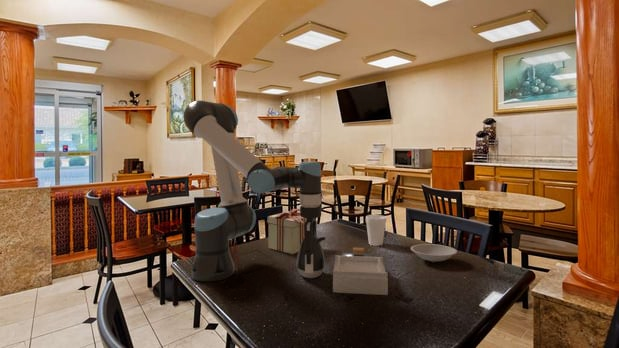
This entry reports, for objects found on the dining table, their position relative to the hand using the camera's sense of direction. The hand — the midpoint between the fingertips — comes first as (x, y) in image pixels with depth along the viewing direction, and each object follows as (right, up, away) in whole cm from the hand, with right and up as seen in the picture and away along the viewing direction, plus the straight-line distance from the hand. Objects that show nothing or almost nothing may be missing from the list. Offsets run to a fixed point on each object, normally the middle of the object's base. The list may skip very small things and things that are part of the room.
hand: (311, 266), depth 114 cm
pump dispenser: (0, -3, 0) cm, 3 cm away
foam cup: (+31, 0, +37) cm, 48 cm away
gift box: (-8, -1, +32) cm, 33 cm away
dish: (+49, -2, +13) cm, 51 cm away
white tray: (+17, -3, -3) cm, 17 cm away
